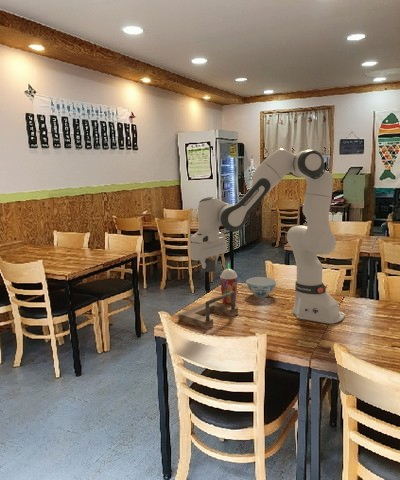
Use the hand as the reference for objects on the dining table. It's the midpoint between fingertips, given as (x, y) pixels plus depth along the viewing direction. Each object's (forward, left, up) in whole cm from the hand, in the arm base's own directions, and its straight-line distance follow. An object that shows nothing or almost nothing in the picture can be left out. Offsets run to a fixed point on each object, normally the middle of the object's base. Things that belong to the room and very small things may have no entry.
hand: (209, 266), depth 176 cm
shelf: (+1, 0, -23) cm, 23 cm away
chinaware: (-1, -39, -24) cm, 46 cm away
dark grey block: (0, 0, -2) cm, 2 cm away
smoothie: (+5, -20, -24) cm, 31 cm away
